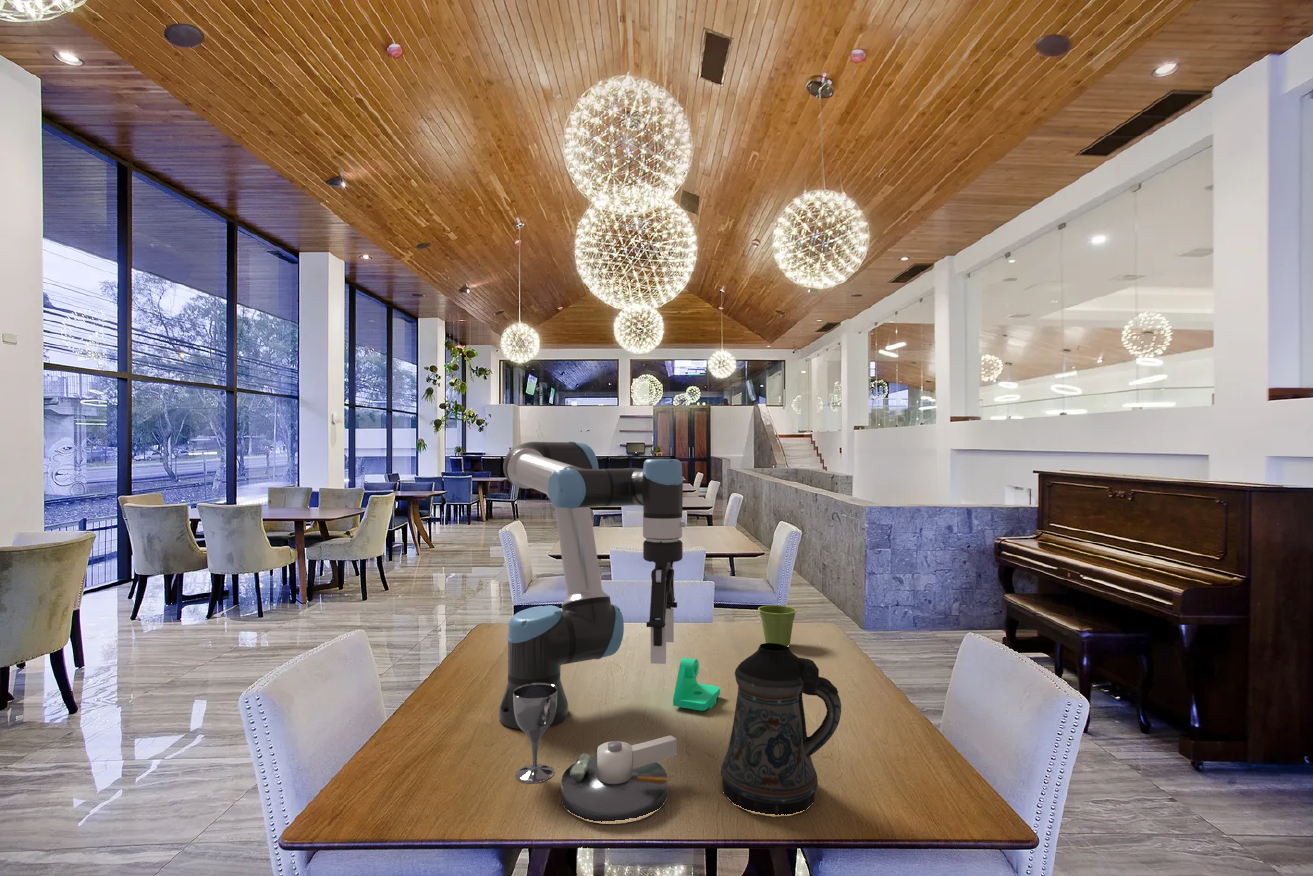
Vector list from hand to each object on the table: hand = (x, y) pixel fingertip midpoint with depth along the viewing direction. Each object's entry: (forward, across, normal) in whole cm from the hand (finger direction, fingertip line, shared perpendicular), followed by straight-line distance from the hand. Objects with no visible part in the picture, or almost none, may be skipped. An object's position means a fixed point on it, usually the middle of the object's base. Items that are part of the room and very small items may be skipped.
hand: (662, 652), depth 121 cm
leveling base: (+21, -12, +7) cm, 25 cm away
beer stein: (+21, -8, -21) cm, 31 cm away
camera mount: (+21, +31, -5) cm, 38 cm away
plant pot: (+21, +80, -26) cm, 87 cm away
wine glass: (+21, -7, +23) cm, 32 cm away
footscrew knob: (+17, -9, +3) cm, 20 cm away
